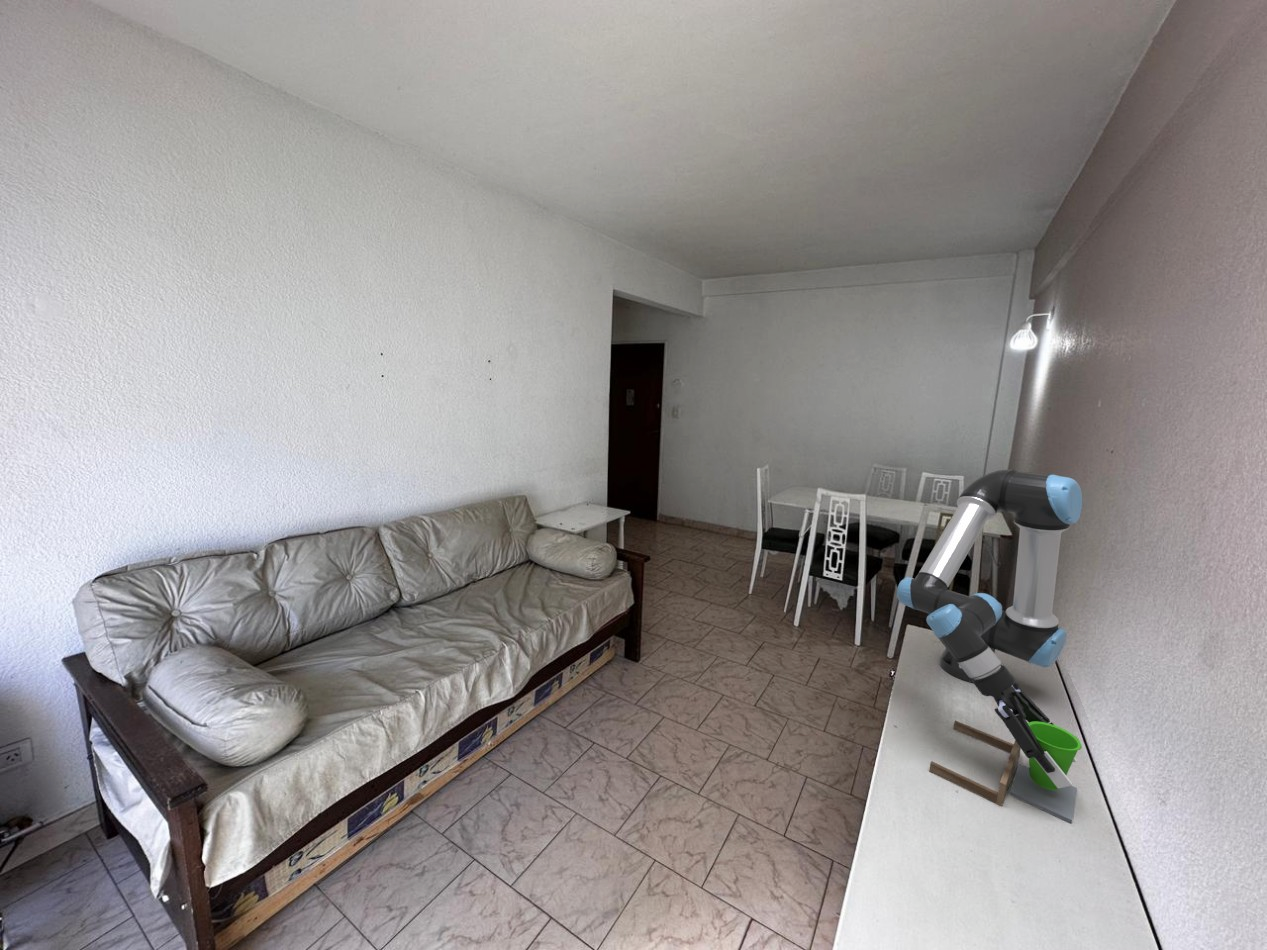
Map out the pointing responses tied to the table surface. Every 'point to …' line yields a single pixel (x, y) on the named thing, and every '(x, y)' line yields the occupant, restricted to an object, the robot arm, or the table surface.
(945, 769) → the stall
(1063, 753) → the cup
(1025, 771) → the mat
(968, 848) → the table surface
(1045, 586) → the robot arm
